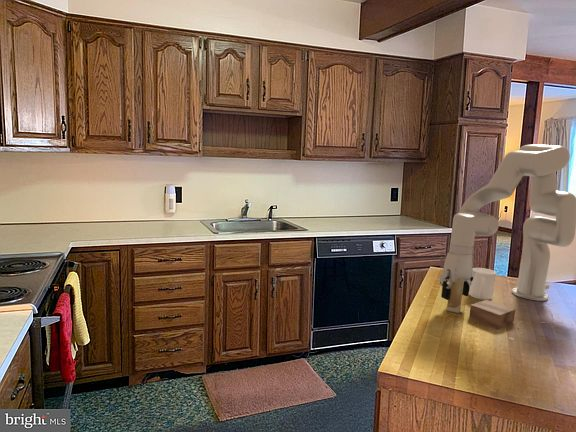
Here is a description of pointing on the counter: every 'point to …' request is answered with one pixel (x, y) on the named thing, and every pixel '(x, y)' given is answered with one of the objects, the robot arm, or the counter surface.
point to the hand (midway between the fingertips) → (454, 296)
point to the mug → (482, 284)
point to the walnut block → (492, 314)
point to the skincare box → (455, 296)
